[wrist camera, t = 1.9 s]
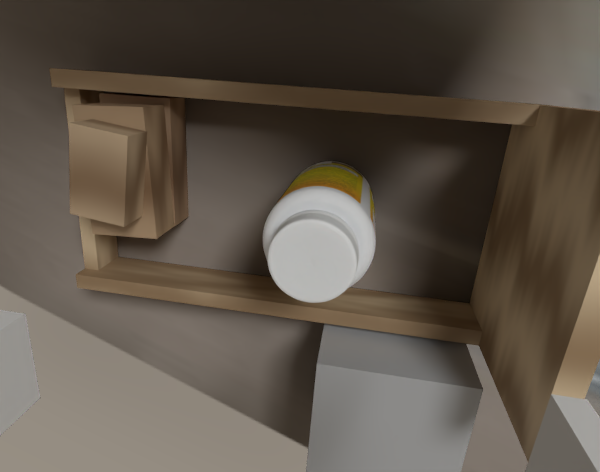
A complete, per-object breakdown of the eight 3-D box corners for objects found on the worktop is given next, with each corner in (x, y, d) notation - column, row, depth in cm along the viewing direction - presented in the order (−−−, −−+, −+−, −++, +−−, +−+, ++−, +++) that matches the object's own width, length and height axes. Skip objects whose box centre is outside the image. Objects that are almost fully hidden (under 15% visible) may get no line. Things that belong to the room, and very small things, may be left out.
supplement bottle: (274, 185, 28) (224, 236, 18) (348, 143, 26) (336, 176, 17) (315, 254, 29) (289, 337, 20) (389, 219, 27) (399, 290, 18)
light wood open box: (87, 70, 27) (-109, 58, 16) (539, 104, 24) (689, 120, 13) (107, 267, 32) (-34, 364, 21) (484, 318, 29) (558, 467, 17)
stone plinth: (328, 303, 30) (316, 363, 24) (457, 321, 29) (483, 389, 22) (317, 403, 33) (305, 481, 27) (434, 423, 32) (450, 508, 26)
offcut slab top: (98, 102, 26) (71, 104, 23) (163, 104, 25) (142, 107, 23) (115, 221, 28) (92, 233, 26) (174, 225, 28) (156, 238, 25)
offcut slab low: (121, 92, 28) (99, 93, 25) (186, 97, 27) (169, 98, 25) (131, 208, 30) (111, 219, 28) (190, 215, 30) (175, 226, 28)
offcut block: (92, 118, 23) (68, 122, 21) (147, 131, 23) (127, 136, 21) (92, 203, 25) (70, 213, 23) (142, 216, 25) (123, 227, 23)
